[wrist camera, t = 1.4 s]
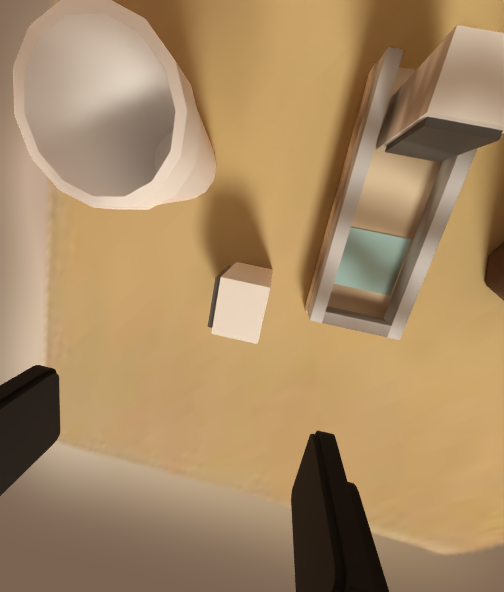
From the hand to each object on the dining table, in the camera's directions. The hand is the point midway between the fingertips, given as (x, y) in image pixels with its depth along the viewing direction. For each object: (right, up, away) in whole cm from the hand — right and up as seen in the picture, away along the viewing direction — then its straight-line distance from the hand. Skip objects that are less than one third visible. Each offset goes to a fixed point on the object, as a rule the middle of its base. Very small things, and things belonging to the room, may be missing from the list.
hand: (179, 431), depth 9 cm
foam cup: (-4, +18, +17) cm, 25 cm away
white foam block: (+2, +6, +19) cm, 20 cm away
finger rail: (+15, +13, +16) cm, 25 cm away
